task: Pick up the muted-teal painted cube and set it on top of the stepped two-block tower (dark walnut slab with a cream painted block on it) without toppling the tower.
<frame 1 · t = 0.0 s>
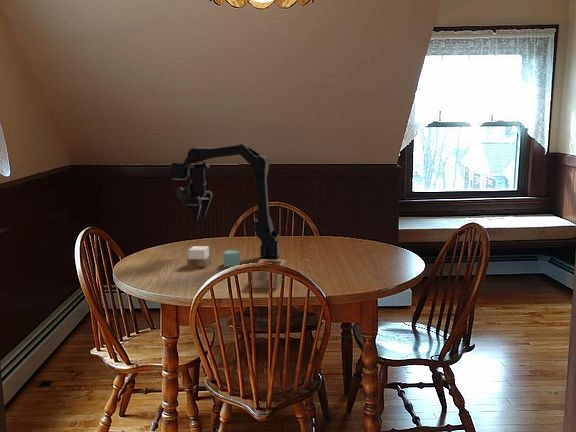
hand: (199, 219, 237), 15 cm above the table, fingers open, 9 cm apart
bracket: (268, 282, 203), resting in bracket cradle
cream block: (199, 257, 224), point 3 cm above the table, touching walnut block
teal cube: (232, 265, 224), on the table
walnut block: (199, 266, 224), on the table, touching cream block
bracket cradle: (268, 281, 203), on the table
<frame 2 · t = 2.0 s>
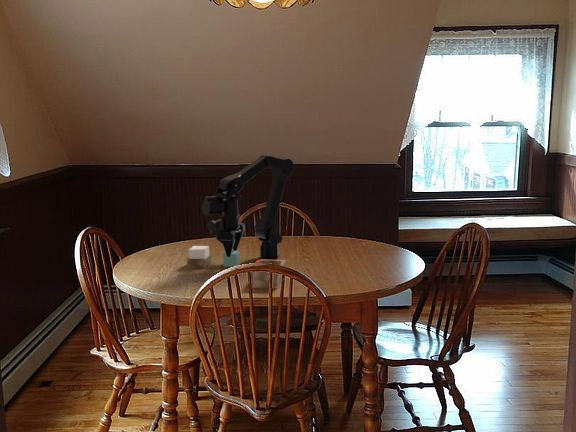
hand: (231, 253, 223), 4 cm above the table, fingers open, 9 cm apart
bracket: (265, 281, 203), resting in bracket cradle
cream block: (199, 256, 224), point 3 cm above the table
walnut block: (199, 266, 224), on the table
everything else where it was.
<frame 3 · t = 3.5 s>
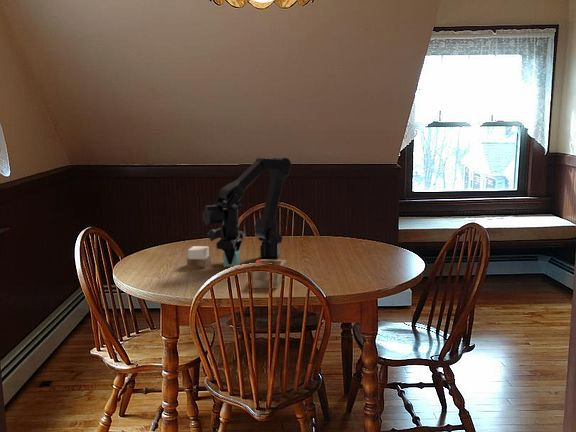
hand: (231, 262, 224), 1 cm above the table, fingers closed on teal cube, 5 cm apart
bracket: (265, 281, 203), resting in bracket cradle
cream block: (198, 257, 224), point 3 cm above the table, touching walnut block
teal cube: (232, 265, 224), on the table, touching gripper
walnut block: (199, 266, 224), on the table, touching cream block
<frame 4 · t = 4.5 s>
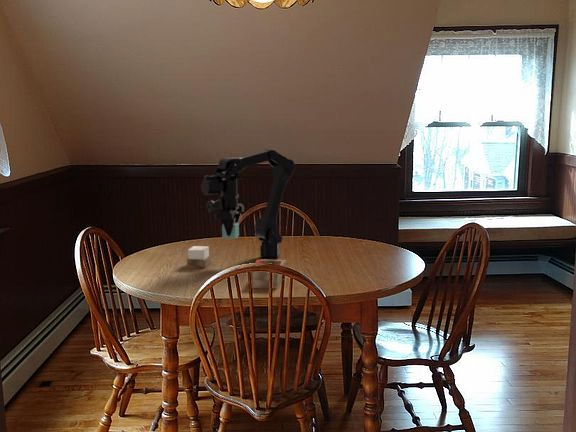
hand: (230, 234, 222), 12 cm above the table, fingers closed on teal cube, 5 cm apart
bracket: (265, 281, 203), resting in bracket cradle
teal cube: (230, 237, 222), point 11 cm above the table, touching gripper
everything else where it was.
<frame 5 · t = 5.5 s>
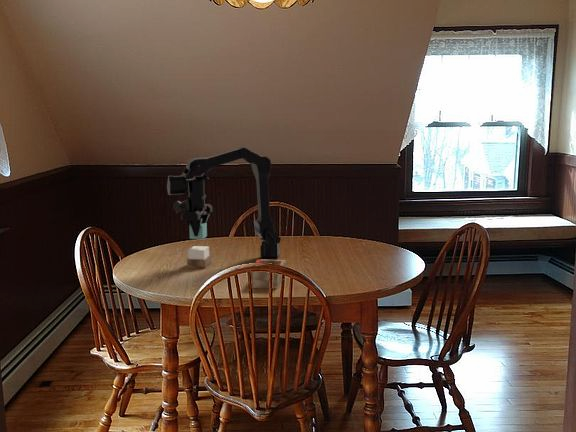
hand: (198, 234, 222), 12 cm above the table, fingers closed on teal cube, 5 cm apart
cream block: (199, 257, 223), point 3 cm above the table
teal cube: (198, 237, 222), point 11 cm above the table, touching gripper
walnut block: (199, 266, 224), on the table
everything else where it was.
when the fingers open (9 cm above the table, at t = 6.3 s): teal cube drops 2 cm, point 7 cm above the table.
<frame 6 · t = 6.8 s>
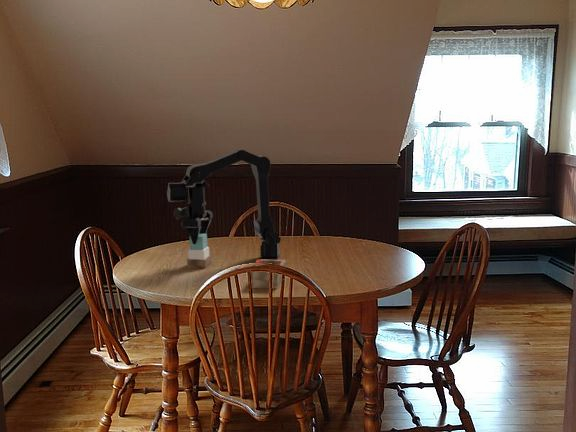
hand: (198, 241, 223), 9 cm above the table, fingers open, 9 cm apart
cream block: (199, 257, 223), point 3 cm above the table, touching walnut block
teal cube: (198, 248, 223), point 7 cm above the table
walnut block: (199, 266, 224), on the table, touching cream block
everything else where it was.
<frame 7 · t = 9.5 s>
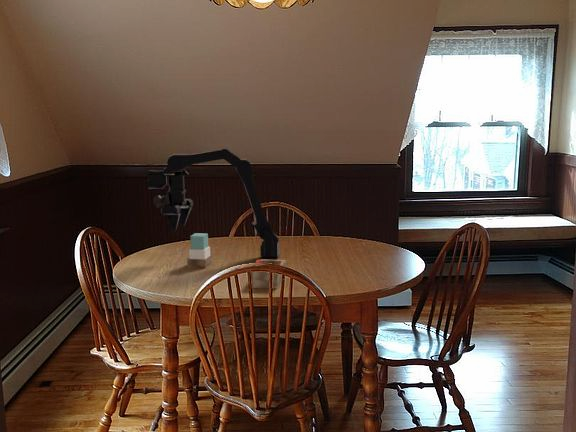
hand: (178, 228, 227), 13 cm above the table, fingers open, 9 cm apart
bracket: (265, 281, 204), resting in bracket cradle
cream block: (200, 257, 223), point 3 cm above the table, touching teal cube, walnut block
teal cube: (199, 247, 223), point 7 cm above the table, touching cream block
everything else where it was.
at the end: teal cube 0.3 cm off-centre on the cream block, point 3.5 cm above the cream block's base; cream block tilted 0°; cream block 0.3 cm from the walnut block (horizontally) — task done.
